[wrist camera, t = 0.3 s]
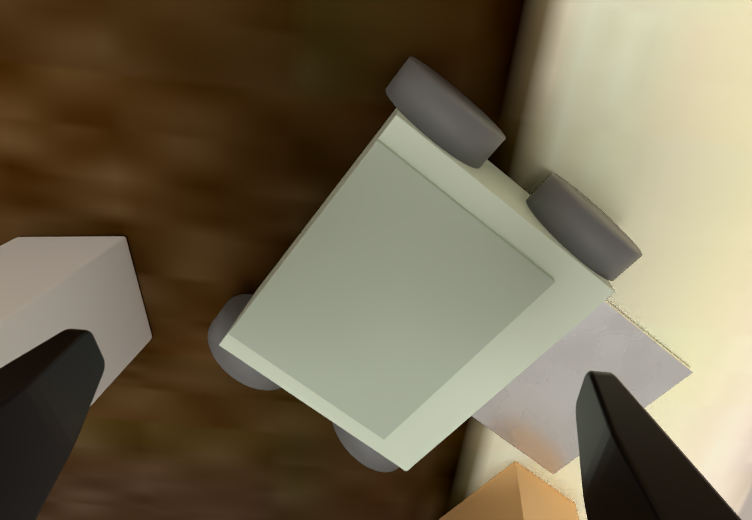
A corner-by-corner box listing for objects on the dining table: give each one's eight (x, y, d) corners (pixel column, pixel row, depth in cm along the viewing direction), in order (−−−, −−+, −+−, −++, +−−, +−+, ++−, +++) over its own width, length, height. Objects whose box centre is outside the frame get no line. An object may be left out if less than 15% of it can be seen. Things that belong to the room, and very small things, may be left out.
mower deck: (408, 422, 29) (400, 502, 25) (229, 298, 28) (183, 359, 23) (621, 227, 24) (665, 282, 19) (413, 52, 22) (403, 64, 17)
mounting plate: (552, 468, 30) (553, 474, 29) (431, 382, 28) (431, 386, 28) (689, 367, 26) (692, 372, 26) (558, 262, 25) (560, 266, 24)
